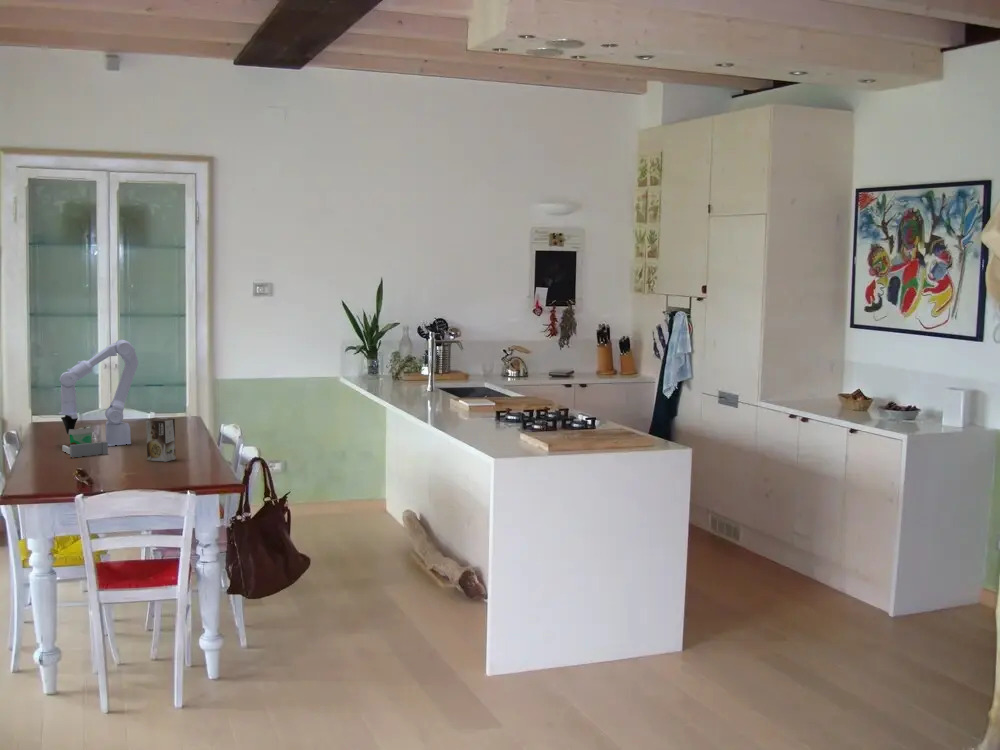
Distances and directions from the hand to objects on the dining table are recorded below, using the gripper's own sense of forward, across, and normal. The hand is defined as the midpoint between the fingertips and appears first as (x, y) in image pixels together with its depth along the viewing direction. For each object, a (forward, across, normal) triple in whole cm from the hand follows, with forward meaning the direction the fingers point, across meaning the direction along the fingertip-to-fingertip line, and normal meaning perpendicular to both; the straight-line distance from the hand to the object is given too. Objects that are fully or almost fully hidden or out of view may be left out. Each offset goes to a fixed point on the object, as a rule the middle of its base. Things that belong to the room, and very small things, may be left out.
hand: (70, 433), depth 428 cm
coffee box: (+6, +47, +20) cm, 51 cm away
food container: (+6, +13, +2) cm, 15 cm away
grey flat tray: (+6, +16, 0) cm, 17 cm away
